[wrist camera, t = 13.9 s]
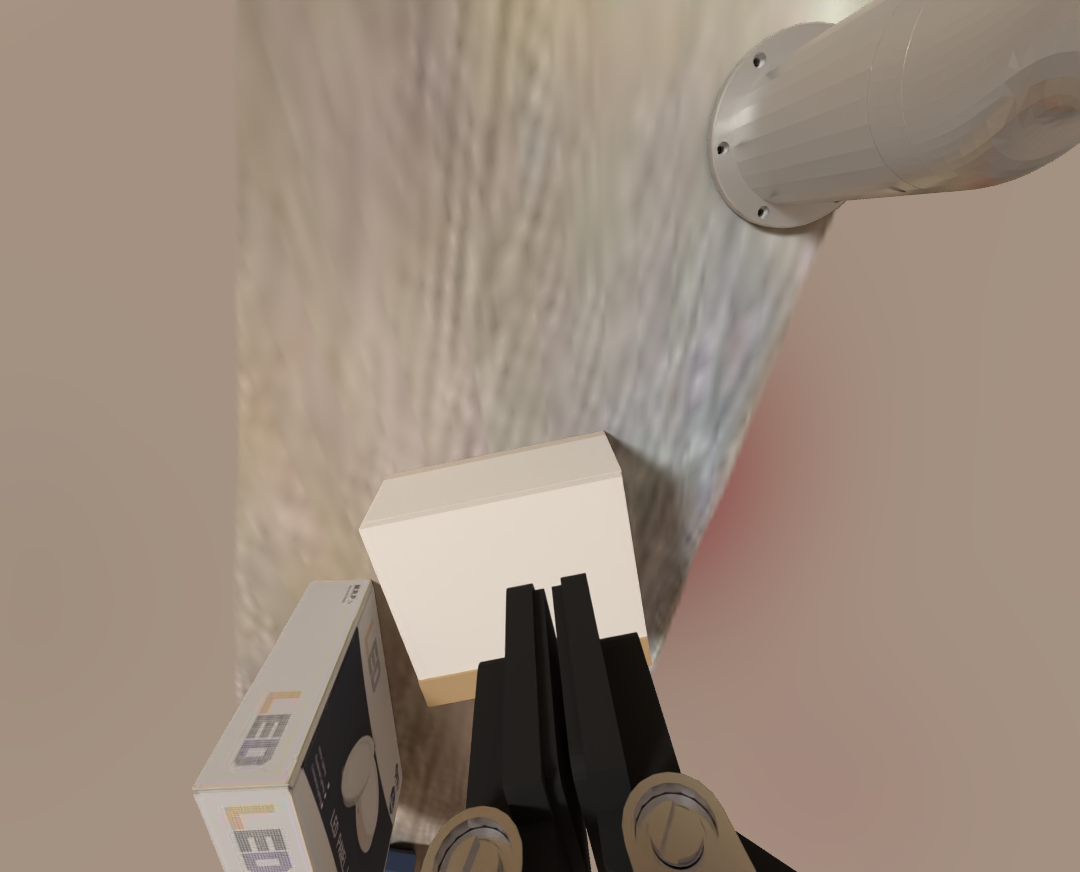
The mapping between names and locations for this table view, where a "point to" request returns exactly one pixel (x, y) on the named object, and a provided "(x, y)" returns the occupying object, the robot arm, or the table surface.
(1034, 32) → the robot arm
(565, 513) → the lid
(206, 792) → the packaging
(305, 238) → the table surface
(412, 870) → the glue gun
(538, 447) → the box
